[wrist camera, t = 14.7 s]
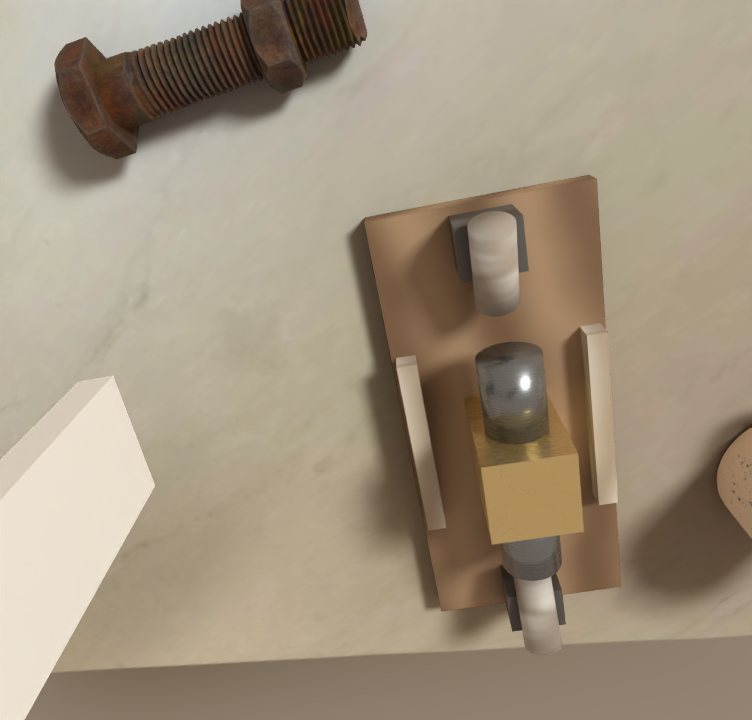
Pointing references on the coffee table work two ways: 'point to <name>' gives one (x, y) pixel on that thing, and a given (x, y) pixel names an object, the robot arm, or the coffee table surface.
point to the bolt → (199, 66)
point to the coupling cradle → (459, 378)
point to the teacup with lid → (738, 480)
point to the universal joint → (523, 461)
